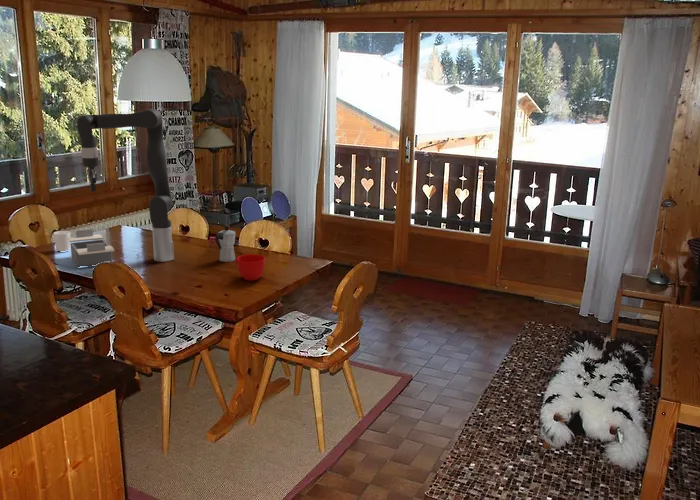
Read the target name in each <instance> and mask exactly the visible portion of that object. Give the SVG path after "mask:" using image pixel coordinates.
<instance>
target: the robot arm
mask: <svg viewBox="0 0 700 500" xmlns="http://www.w3.org/2000/svg"><path fill="white" fill-rule="evenodd" d="M76 128H77V131H78V135H79V137H80V147H81V163H82V164H81V165H82V166H83V168H87V169H86V175H87V179H88V180H87V181H88V183H89V187H90V191H91V192H96V191H97V189H96V184H97V179H98V178H97V177H98V175H97V170H96V168H95V167H99V165H100V163H99V161H100V160H99V152H98V148H97V147H98V145H97V144H98V143H97V139H96V136H95V135H94V134H93V130H96V129H103V130H106V129H107V130H108V129H111V130H112V129H119V128H144V129H146V131H147V146H146V153H145V154H146V155H145V157H146V166H147V171H148V174H149V176H150V177H151V179H152V182H153V184H154V189H155V190H154V191H155V194H154V195H155V196H153V197H152V198H151V199H150V201H149V203H148V204H149V205H148V211H149V219H150V223H151V227H152V229H151V230H152V241H153V242H152V245H153V260H154V261H156V262H169V261H172V260H175V252H174V251H175V250H174V241H173V237H172V235H173V234H172V222H171V220H170V219H169V215H168V213H169V212H170V210H171V209H172V207H173V198H172V194H171V189H170V185H169V177H168V176H169V175H168V165H167V157H166V149H165V143H164V137H163V136H164V134H163V133H164V130H163V116H162V114H161V112H160V111H159V110H158V109H156V108H149V109H144V110H142V111H137V112H132V113H102V114H86V115H81V116H79V117H78V118H77V120H76Z"/></svg>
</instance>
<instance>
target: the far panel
mask: <svg viewBox="0 0 700 500" xmlns="http://www.w3.org/2000/svg"><path fill="white" fill-rule="evenodd" d="M74 232H75V236H70V237H67V238H68V240H69V242H70V243H75V242H85V241H94V240H104V237H103V235H102V234H101V233H97V234H94V233H93V232H94V230H93V228H87V229H86V228H85V229H76V230H75V231H74Z"/></svg>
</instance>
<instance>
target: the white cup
mask: <svg viewBox="0 0 700 500" xmlns="http://www.w3.org/2000/svg"><path fill="white" fill-rule="evenodd" d="M67 237H71V231H69V230H58V231H54V232H53V238H54V245H55V250H57V251H66V250H69V249H70V250H71V244H70V243H71V242H69V240H68V238H67ZM57 251H56V252H57Z"/></svg>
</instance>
